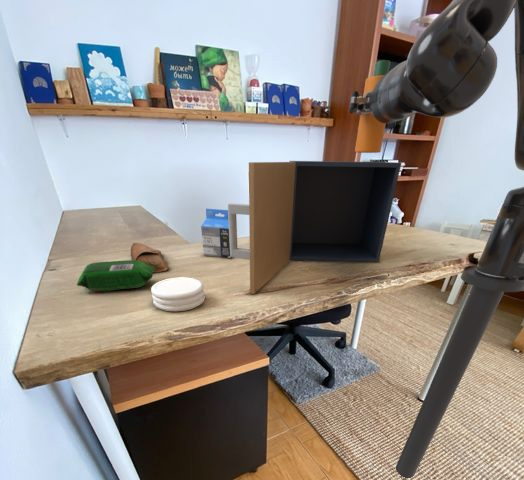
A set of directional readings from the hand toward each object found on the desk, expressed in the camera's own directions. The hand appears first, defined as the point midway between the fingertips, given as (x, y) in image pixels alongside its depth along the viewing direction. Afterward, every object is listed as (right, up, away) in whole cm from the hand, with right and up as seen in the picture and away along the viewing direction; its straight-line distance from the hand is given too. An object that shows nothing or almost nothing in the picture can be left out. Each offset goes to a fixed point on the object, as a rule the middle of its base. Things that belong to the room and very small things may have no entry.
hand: (371, 108), depth 65 cm
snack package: (-56, -39, +1) cm, 68 cm away
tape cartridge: (-37, -25, +23) cm, 50 cm away
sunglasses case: (-55, -30, +16) cm, 65 cm away
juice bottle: (0, -8, +2) cm, 8 cm away
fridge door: (-24, -34, +9) cm, 43 cm away
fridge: (-4, -23, +27) cm, 35 cm away
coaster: (-41, -44, -5) cm, 60 cm away
